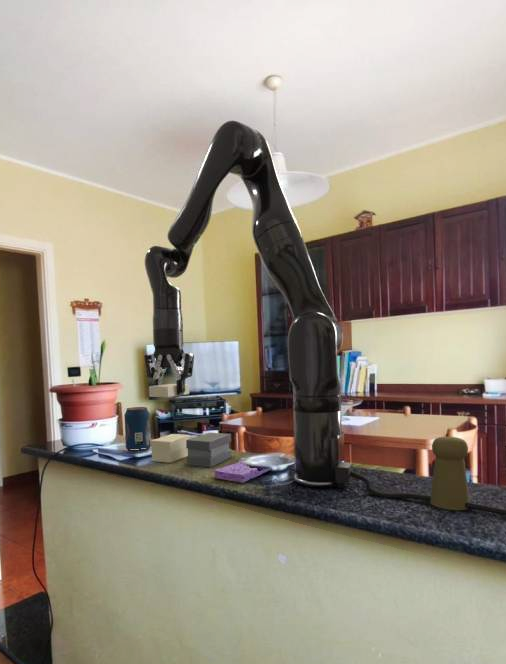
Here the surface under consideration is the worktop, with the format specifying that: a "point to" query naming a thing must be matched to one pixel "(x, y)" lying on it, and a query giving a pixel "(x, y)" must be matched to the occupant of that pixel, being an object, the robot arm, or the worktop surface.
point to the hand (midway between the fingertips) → (170, 394)
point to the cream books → (169, 448)
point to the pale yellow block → (166, 390)
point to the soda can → (137, 429)
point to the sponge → (238, 472)
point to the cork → (449, 474)
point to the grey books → (208, 449)
